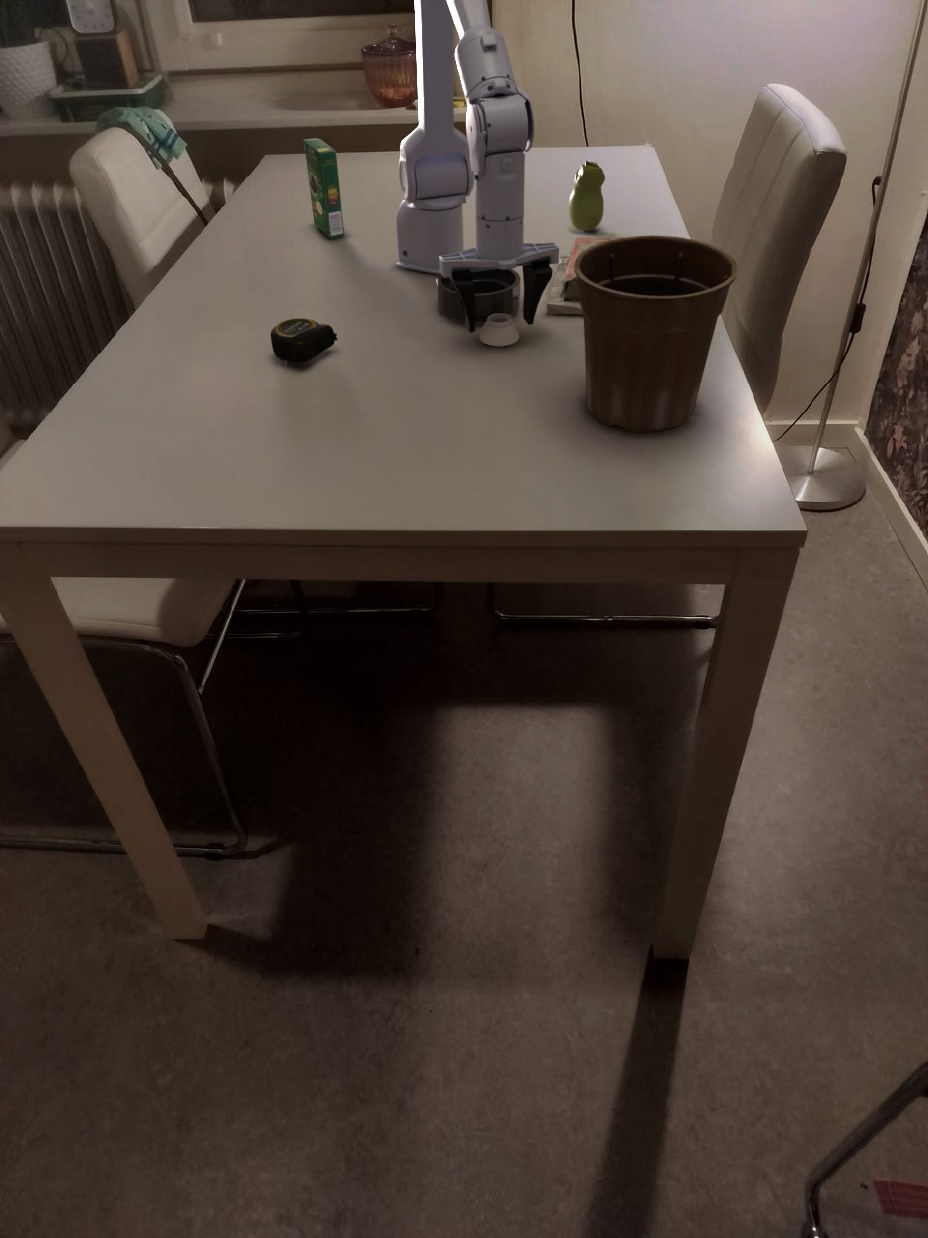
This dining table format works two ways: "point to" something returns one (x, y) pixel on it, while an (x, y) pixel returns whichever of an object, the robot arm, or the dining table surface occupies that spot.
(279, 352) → the tape measure
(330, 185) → the coffee box
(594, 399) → the plant pot
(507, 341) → the white jar
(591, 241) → the packaged product
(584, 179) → the pear
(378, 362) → the dining table surface
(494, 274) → the bowl
